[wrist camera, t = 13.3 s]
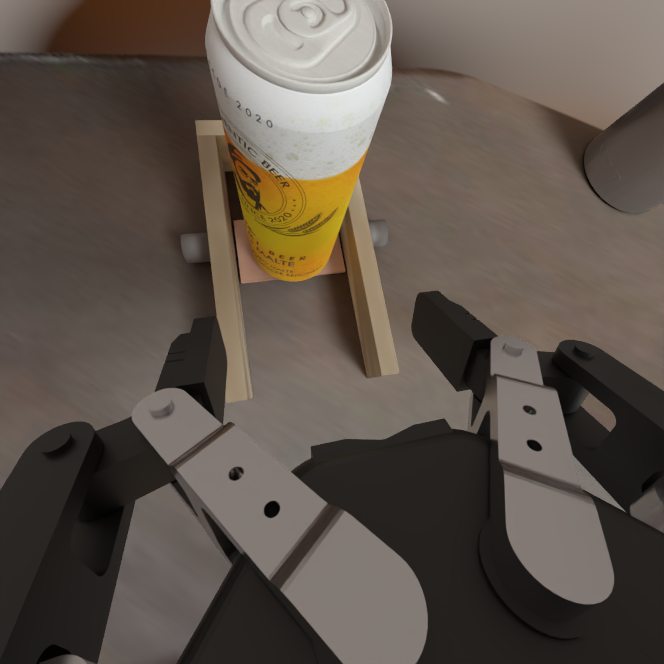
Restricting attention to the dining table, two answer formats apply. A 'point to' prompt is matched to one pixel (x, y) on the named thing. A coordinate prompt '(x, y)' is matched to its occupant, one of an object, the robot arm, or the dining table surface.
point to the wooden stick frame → (221, 254)
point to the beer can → (298, 116)
